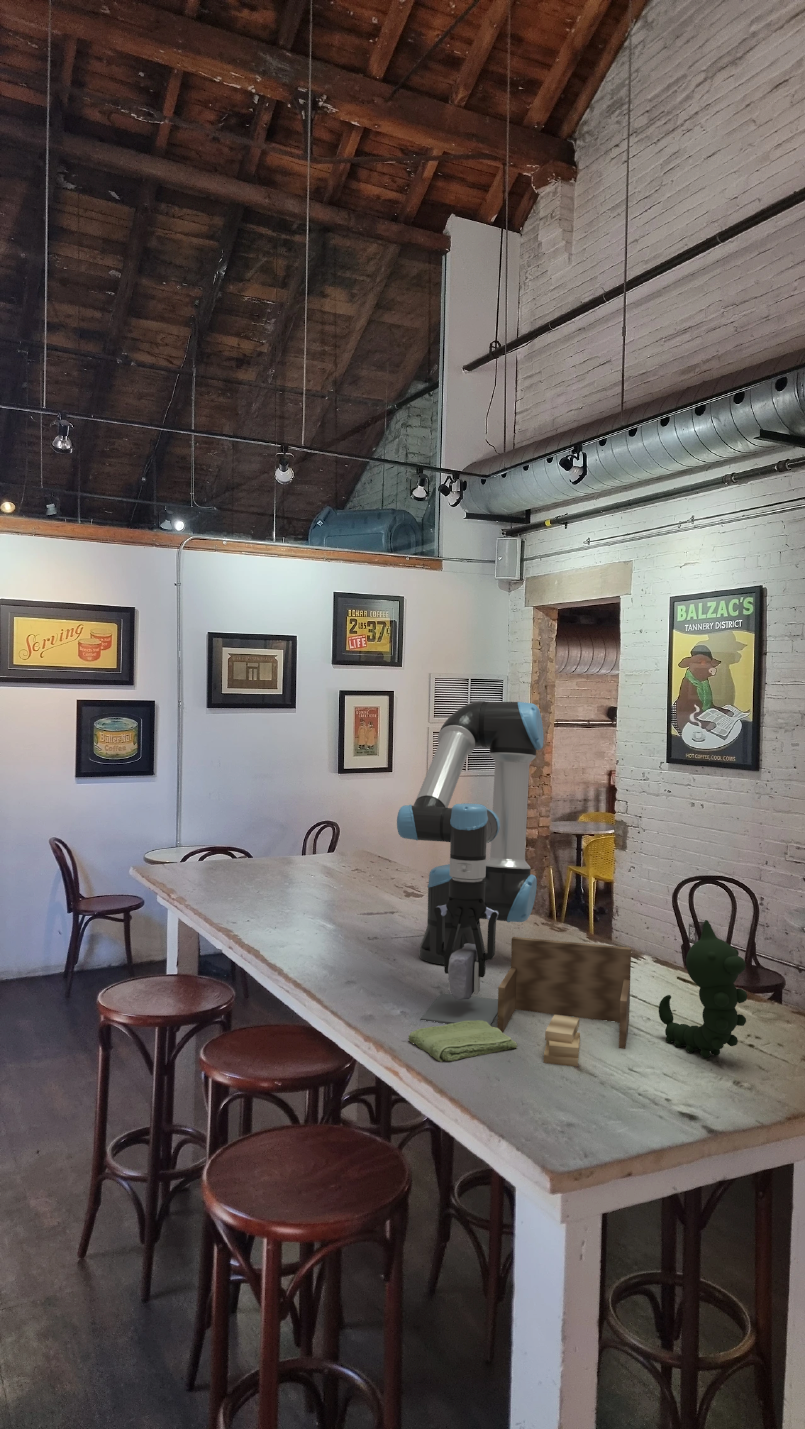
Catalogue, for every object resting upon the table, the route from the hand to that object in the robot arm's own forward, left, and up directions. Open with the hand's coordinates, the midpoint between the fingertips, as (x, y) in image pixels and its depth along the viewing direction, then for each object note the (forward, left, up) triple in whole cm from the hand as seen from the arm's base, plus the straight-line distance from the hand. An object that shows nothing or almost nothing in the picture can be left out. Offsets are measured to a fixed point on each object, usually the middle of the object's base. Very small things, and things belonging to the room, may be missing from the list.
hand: (464, 990), depth 194 cm
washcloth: (+4, -19, -5) cm, 20 cm away
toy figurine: (+46, -6, -5) cm, 47 cm away
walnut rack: (+21, -3, -5) cm, 22 cm away
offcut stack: (+22, -15, -5) cm, 27 cm away
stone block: (+2, 0, -1) cm, 2 cm away
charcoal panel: (0, 0, -5) cm, 5 cm away
